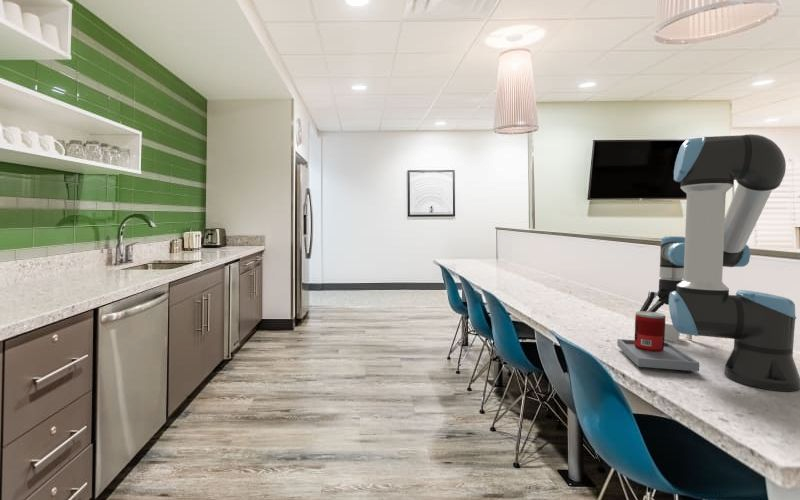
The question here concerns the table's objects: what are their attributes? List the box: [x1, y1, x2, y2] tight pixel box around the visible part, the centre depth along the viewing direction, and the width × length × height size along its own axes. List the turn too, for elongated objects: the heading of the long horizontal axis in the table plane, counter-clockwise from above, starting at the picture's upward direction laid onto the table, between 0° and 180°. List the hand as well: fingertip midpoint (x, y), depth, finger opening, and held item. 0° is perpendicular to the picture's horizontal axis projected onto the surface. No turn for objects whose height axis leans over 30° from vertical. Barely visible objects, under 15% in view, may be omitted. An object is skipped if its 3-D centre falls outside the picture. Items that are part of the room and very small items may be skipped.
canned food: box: [633, 310, 666, 352], centre depth 128 cm, size 8×8×11 cm
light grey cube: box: [664, 320, 681, 343], centre depth 150 cm, size 6×6×6 cm
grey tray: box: [616, 338, 700, 373], centre depth 124 cm, size 21×15×4 cm
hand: (668, 337), depth 151 cm, fingers open, 12 cm apart
